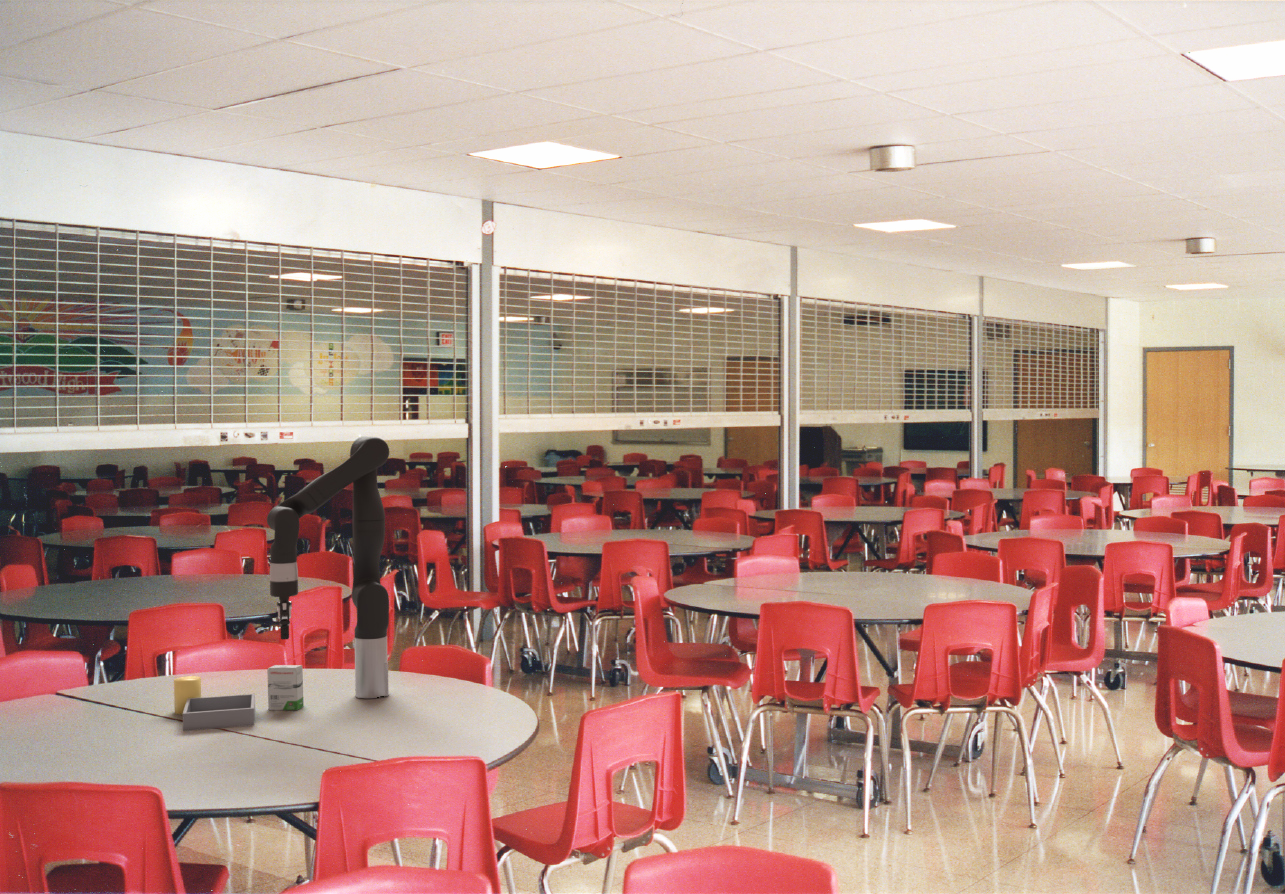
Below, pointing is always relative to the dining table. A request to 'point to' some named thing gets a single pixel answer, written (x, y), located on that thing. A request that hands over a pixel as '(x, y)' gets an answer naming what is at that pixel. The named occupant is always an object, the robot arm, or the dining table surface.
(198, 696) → the yellow rounded cylinder
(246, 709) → the bus tub
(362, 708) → the dining table surface
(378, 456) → the robot arm
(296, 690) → the ink box
